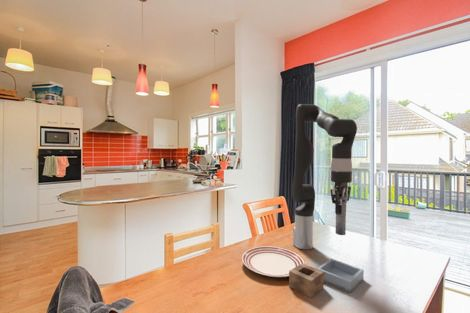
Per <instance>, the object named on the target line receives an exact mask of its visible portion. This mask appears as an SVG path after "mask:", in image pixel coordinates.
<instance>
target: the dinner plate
mask: <svg viewBox="0 0 470 313" xmlns="http://www.w3.org/2000/svg"><path fill="white" fill-rule="evenodd" d="M241 261H242V264H243V265H244V266H245V267H246V268H247V269H249V270H251V271H252V272H254V273H256V274H259V275H263V276H265V277H266V276H267V277H272V278H287V277H288V278H289V271H290V270H292V269H293V268H295V267H297V266H298V265H300V264H302V263H303V264H305V265H306V263H305V261H304V259H303V258H302V257H301V256H300V255H299V254H297V253H295V252H294V251H292V250H289V249H286V248H283V247H279V246H270V245H267V246H266V245H264V246H263V245H261V246H256V247H252V248H250V249H247V250H246V251H244V253H243V254H242V256H241Z"/></svg>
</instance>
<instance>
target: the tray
mask: <svg viewBox="0 0 470 313" xmlns="http://www.w3.org/2000/svg"><path fill="white" fill-rule="evenodd" d="M316 269H318V270H320V271H323V272H324V283H326V284H327V285H330V286H333V287H334V288H338V289H340V290H342V291H344V292H346V293H349V294H351V293H352V292H353V291H354V290H356V288H357V287H358V286H359V285H360V284H361V283H362V281H364V269H362V268H359V267H356V266H354V265H351V264H348V263H345V262H342V261H339V260H336V259H333V258H330V259H329V260H327V261H326V262H324V263H322V264H321V265H319V266H318V267H316Z"/></svg>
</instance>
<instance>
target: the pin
mask: <svg viewBox="0 0 470 313" xmlns="http://www.w3.org/2000/svg"><path fill="white" fill-rule="evenodd" d="M339 197H341V196H339ZM347 199H348V196H345V195H344V197H343V199H342V214H341V215H339V214H336V213H335V234H336V235H339V236H346V234H347V232H346V231H347V230H346V229H347V228H346V227H347V226H346V223H347V218H346V217H347V215H346V214H347V203H346V200H347ZM339 200H340V199H339Z"/></svg>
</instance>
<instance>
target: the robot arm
mask: <svg viewBox="0 0 470 313" xmlns="http://www.w3.org/2000/svg"><path fill="white" fill-rule="evenodd" d="M305 123H309V124H310V123H316V124H317V126H318V127H319V128H321V129H322V130H325V132H326V133H327V134H328V136H331V137H333V138H342V140H341V142H336V143H334V144H333V145H332V147H331V162H330V181H331V182H332V183H334V185H333V188H331V189H330V192H329V193H330V197H331V203H332V204H334V205H335V206H334V213H335V215H336V214H339V215H341V214H342V199H343V197H344V195H345V196H348V199H347V200H346V204H347V203H348V202H349V201H350V196H351V190H352V187H351V186H349V185H348V184H349V183H352V181H353V180H352V179H353V161H352V148H353V146H354V141H355V138H356V135H357V131H358V127H357V123H356V122H355V120H354V119H347V118H346V119H345V118H342V119H341V118H339V117H338V116H336V115H334V114H331V113H328V112H326V111H324V110H323V109H321V108H320V107H319V106H318V105H316V104H309V103H308V104H307V103H305V104H304V103H303V104H302V103H299V104H298V105H297V107H296V109H295V133H296V135H295V150H294V151H295V152H294V171H293V172H294V174H293V180H292V188H291V195H292V197H291V198H292V200H293V201H294V202H296V203H301V205H299V206H297V207H296V208H295V210H294V227H293V228H292V234H293V235H292V236H293V237H292V245H293V246H294V247H295V248H297V249H300V250H307V251H308V250H311V249H313V240H314V238H313V236H314V232H313V231H314V210H315V202H316V191H315V190H316V189H315V188H314V186H313V184H310V183H309V184H307V183H306V184H305V183H304V179H305V175H306V174H307V172H308V170H309V169H310V167H311V166H312V164H313V161H314V145H313V143H312V142H311V139H310V138H309V136H308V134H307V132H306V127H305V125H306V124H305ZM339 196H341V197H339ZM339 199H340V200H339Z"/></svg>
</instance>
